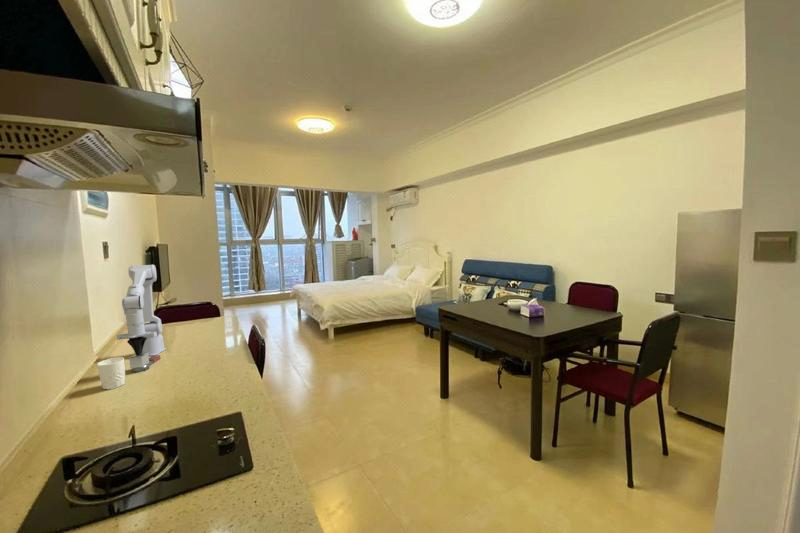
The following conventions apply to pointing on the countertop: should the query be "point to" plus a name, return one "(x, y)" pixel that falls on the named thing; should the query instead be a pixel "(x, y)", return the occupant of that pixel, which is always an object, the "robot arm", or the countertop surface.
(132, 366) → the socket
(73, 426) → the countertop surface
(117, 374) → the white cup
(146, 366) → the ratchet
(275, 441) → the countertop surface
